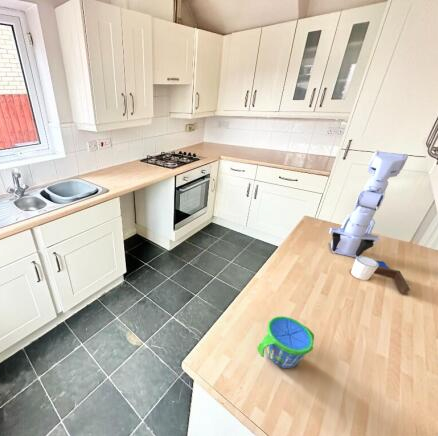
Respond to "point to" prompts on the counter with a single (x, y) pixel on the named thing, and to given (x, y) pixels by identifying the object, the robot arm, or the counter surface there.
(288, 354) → the snack cup
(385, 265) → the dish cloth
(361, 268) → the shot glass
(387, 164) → the robot arm
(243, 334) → the counter surface
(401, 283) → the corner guard
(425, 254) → the counter surface
